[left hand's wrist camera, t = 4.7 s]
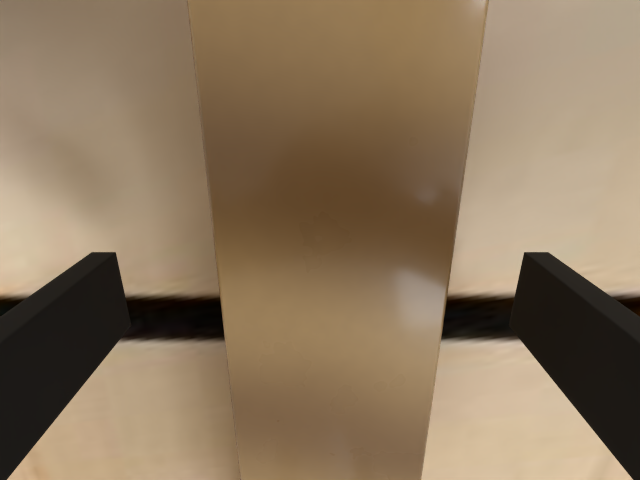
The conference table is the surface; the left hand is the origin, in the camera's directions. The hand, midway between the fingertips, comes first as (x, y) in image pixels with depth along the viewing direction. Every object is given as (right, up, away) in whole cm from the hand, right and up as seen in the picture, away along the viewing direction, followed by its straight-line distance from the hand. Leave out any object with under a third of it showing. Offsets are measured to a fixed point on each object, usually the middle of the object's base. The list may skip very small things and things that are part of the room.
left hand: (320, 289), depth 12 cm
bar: (0, -20, +12) cm, 23 cm away
